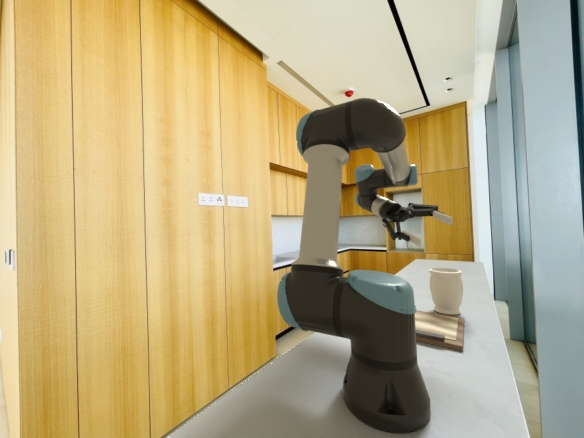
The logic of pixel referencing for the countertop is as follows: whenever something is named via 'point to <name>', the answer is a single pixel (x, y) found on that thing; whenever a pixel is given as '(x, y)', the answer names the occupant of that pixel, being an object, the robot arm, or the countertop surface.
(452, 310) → the jar
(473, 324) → the countertop surface
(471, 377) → the countertop surface
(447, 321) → the clipboard
